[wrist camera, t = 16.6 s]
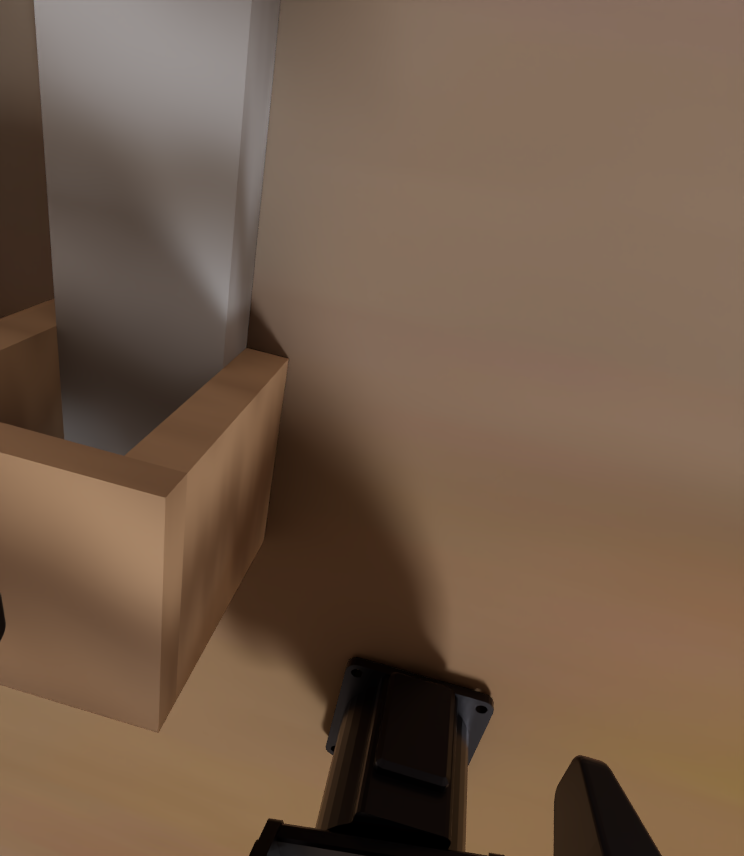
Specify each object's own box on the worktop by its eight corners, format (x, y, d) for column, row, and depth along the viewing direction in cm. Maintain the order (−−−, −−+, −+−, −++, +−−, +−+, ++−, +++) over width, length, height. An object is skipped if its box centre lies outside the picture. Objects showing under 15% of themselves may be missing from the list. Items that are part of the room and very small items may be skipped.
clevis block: (263, 540, 23) (158, 732, 16) (66, 486, 24) (-126, 646, 16) (397, -432, 11) (226, -1524, 4) (-2, -498, 12) (-827, -1571, 4)
